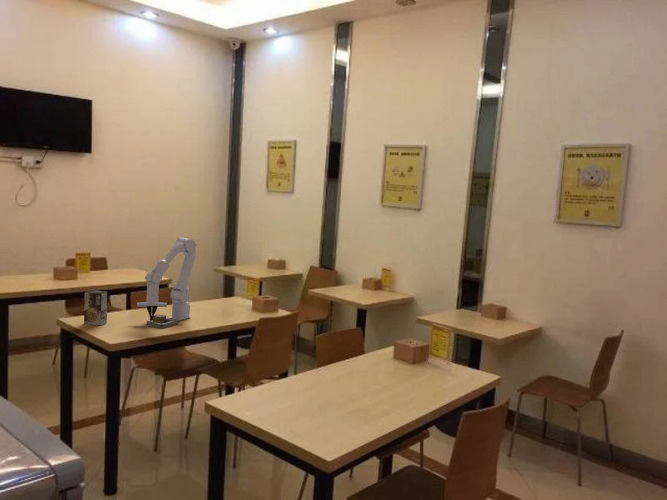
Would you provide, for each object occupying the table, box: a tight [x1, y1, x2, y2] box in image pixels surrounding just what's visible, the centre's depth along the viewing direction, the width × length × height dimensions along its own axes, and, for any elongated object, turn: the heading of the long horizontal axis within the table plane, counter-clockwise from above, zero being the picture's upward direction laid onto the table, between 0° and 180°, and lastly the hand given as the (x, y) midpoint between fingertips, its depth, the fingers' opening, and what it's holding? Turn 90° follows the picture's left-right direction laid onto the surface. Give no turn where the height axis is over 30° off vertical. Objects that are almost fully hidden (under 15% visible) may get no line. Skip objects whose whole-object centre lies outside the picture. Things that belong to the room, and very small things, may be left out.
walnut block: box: [152, 313, 167, 324], centre depth 283 cm, size 5×5×4 cm
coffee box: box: [83, 289, 109, 326], centre depth 272 cm, size 9×6×16 cm
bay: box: [145, 317, 179, 329], centre depth 280 cm, size 12×10×2 cm
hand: (151, 320), depth 283 cm, fingers closed
